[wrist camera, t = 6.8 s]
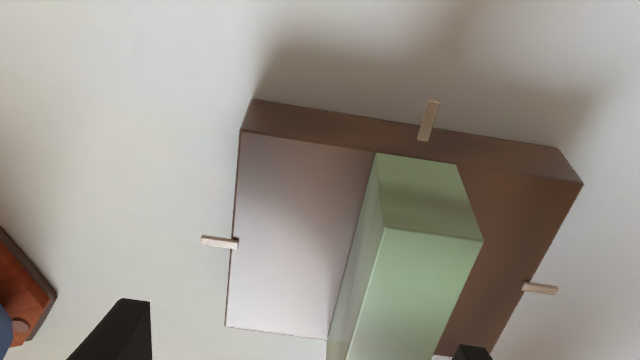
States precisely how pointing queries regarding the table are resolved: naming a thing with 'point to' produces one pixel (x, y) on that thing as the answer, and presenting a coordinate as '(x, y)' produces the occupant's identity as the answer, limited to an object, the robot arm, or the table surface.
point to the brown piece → (345, 205)
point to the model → (20, 297)
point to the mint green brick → (404, 262)
